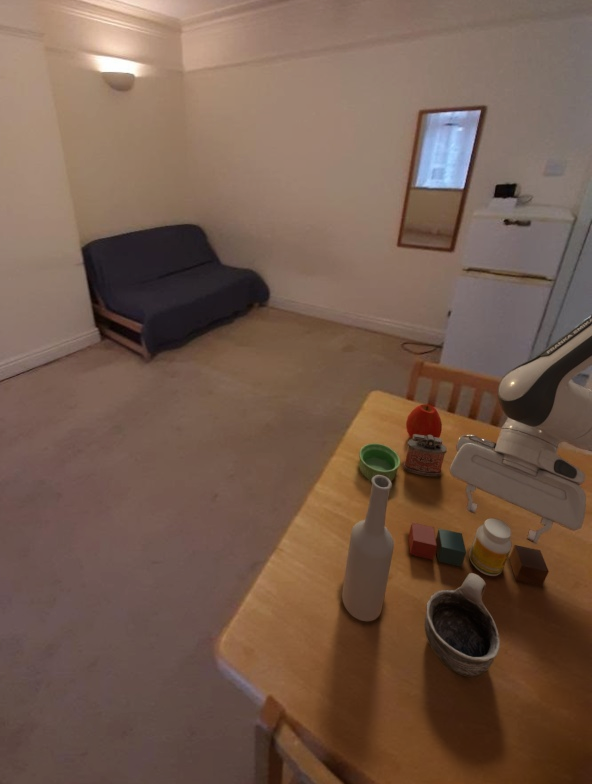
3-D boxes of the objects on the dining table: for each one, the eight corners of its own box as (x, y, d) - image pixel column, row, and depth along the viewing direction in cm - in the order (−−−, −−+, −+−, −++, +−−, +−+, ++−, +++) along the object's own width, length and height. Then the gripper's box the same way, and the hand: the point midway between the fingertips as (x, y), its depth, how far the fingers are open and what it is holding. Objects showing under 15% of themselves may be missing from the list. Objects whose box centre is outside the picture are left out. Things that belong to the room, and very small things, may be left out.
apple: (414, 424, 109) (420, 391, 105) (444, 440, 103) (452, 406, 99) (397, 438, 105) (403, 404, 100) (429, 455, 99) (436, 420, 94)
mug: (413, 660, 61) (424, 621, 57) (427, 587, 71) (437, 550, 67) (487, 702, 57) (505, 664, 52) (491, 618, 66) (506, 580, 62)
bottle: (377, 629, 65) (402, 508, 53) (337, 608, 68) (352, 489, 56) (385, 592, 70) (409, 473, 58) (347, 574, 73) (363, 458, 61)
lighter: (439, 467, 95) (447, 434, 91) (441, 478, 92) (450, 444, 88) (402, 461, 97) (408, 429, 93) (404, 472, 94) (410, 438, 90)
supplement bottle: (467, 545, 78) (478, 510, 74) (499, 555, 76) (513, 519, 72) (469, 570, 73) (482, 535, 69) (504, 582, 71) (518, 546, 67)
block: (457, 547, 77) (461, 533, 76) (461, 566, 74) (466, 552, 72) (434, 542, 78) (438, 528, 77) (437, 561, 75) (441, 547, 73)
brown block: (534, 564, 74) (540, 550, 72) (542, 586, 70) (549, 571, 69) (509, 558, 75) (514, 544, 73) (515, 579, 71) (521, 565, 70)
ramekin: (356, 481, 92) (358, 467, 91) (357, 453, 100) (359, 440, 98) (398, 489, 90) (401, 475, 88) (396, 460, 98) (398, 446, 96)
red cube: (430, 541, 79) (434, 527, 77) (433, 560, 75) (437, 545, 74) (408, 536, 80) (411, 522, 78) (410, 554, 76) (413, 540, 75)
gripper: (461, 427, 78) (436, 495, 76) (597, 478, 66) (573, 562, 64) (462, 433, 83) (439, 497, 81) (590, 482, 71) (567, 559, 69)
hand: (499, 526), depth 72 cm, fingers open, 8 cm apart
